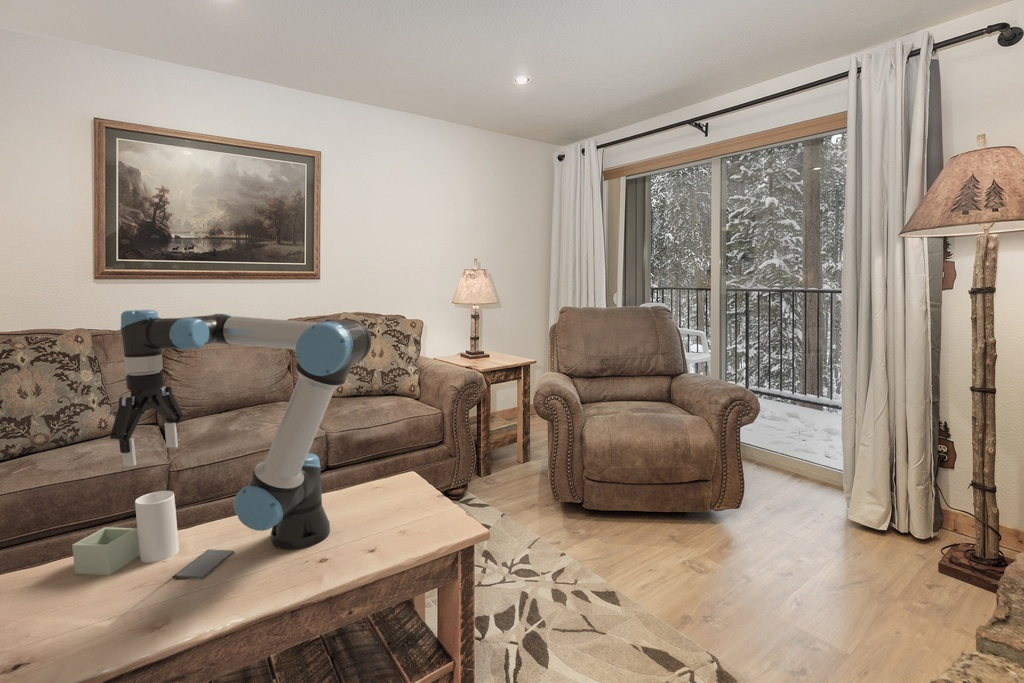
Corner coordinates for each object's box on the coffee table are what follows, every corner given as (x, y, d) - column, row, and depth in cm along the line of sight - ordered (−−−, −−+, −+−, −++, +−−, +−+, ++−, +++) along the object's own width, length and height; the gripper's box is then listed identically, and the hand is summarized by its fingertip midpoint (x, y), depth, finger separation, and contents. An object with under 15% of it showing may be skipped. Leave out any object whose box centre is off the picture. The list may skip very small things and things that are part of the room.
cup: (160, 567, 128) (154, 505, 126) (132, 563, 130) (126, 502, 128) (186, 550, 136) (181, 492, 134) (160, 547, 138) (155, 489, 136)
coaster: (234, 552, 135) (234, 550, 135) (202, 578, 123) (202, 576, 123) (191, 550, 136) (191, 548, 136) (155, 576, 124) (155, 574, 124)
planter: (140, 558, 132) (137, 528, 131) (110, 578, 123) (106, 546, 123) (108, 556, 133) (105, 527, 132) (75, 576, 124) (72, 544, 123)
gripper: (168, 364, 141) (174, 440, 143) (84, 381, 116) (94, 473, 118) (194, 364, 140) (200, 440, 142) (115, 382, 115) (124, 474, 118)
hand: (152, 455), depth 130 cm, fingers open, 13 cm apart
